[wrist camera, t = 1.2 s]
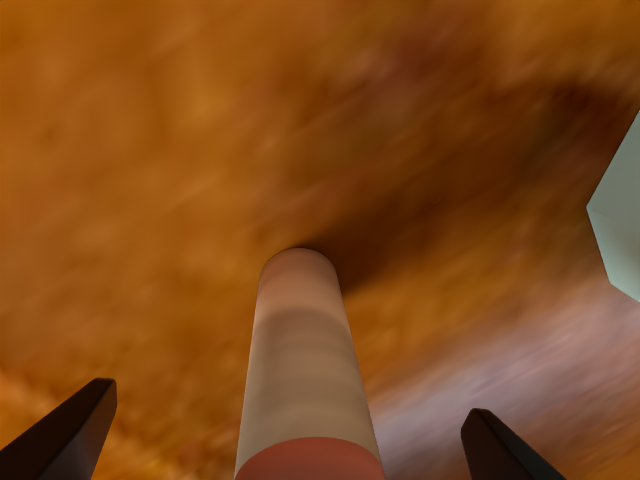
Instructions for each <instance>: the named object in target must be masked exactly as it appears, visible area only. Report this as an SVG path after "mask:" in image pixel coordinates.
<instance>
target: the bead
mask: <svg viewBox="0 0 640 480" xmlns="http://www.w3.org/2000/svg"><path fill="white" fill-rule="evenodd" d="M586 209H587V212H588V215H589V218H590V221H591V224H592V227H593V231H594V234H595V237H596V240H597V243H598V246H599V250H600V253H601V256H602V259H603V262H604V265H605V268H606V272H607V275H608V278H609V281H610V283H611V284H612V285H614V286H615V287H617V288H618V289H620V290H621V291H623V292H624V293H626V294H627V295H629V296H630V297H632V298H633V299H635V300H636V301H637V302H639V303H640V110H639V112H638V114H637V116H636V118H635V119H634V121H633V123H632V125H631V127H630V128H629V130H628V132H627V134H626V136H625V138H624V139H623V141H622V143H621V145H620V147H619V148H618V150H617V152H616V154H615V156H614V157H613V159H612V161H611V163H610V165H609V167H608V168H607V170H606V172H605V174H604V176H603V177H602V179H601V181H600V183H599V185H598V186H597V188H596V190H595V192H594V194H593V196H592V197H591V199H590V201H589V203H588V205H587V206H586Z"/></svg>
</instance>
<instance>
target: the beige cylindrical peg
mask: <svg viewBox="0 0 640 480" xmlns="http://www.w3.org/2000/svg"><path fill="white" fill-rule="evenodd" d="M234 480H385V476H384V472H383V468H382V463H381V459H380V455H379V451H378V446H377V442H376V438H375V434H374V430H373V425H372V421H371V417H370V413H369V408H368V404H367V400H366V396H365V392H364V387H363V383H362V379H361V375H360V370H359V366H358V362H357V358H356V354H355V349H354V345H353V341H352V337H351V332H350V328H349V324H348V320H347V316H346V311H345V307H344V303H343V299H342V294H341V290H340V286H339V282H338V277H337V273H336V270H335V268H334V266H333V264H332V263H331V262H330V261H329V259H328V258H326V257H325V256H324V255H322V254H321V253H319V252H317V251H314V250H311V249H306V248H293V249H288V250H284V251H282V252H280V253H278V254H276V255H275V256H273V257H272V258H271V259H270V260H269V261H268V262H267V263H266V264H265V266H264V267H263V269H262V271H261V274H260V279H259V287H258V295H257V303H256V311H255V318H254V326H253V334H252V342H251V350H250V357H249V365H248V373H247V381H246V389H245V396H244V404H243V412H242V420H241V428H240V435H239V443H238V451H237V459H236V467H235V474H234Z"/></svg>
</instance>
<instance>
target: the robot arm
mask: <svg viewBox="0 0 640 480" xmlns="http://www.w3.org/2000/svg"><path fill="white" fill-rule="evenodd" d="M116 408H117V389H116V381H115V380H114V379H110V378H95V379H93V380H92V381H90V382H89V383H88V384H87V385H85V386H84V387H83V388H81V389H80V390H79V391H77V392H76V393H75V394H73V395H72V396H71V397H70V398H68V399H67V400H66V401H64V402H63V403H62V404H60V405H59V406H58V407H56V408H55V409H54V410H53V411H51V412H50V413H49V414H47V415H46V416H45V417H43V418H42V419H41V420H39V421H38V422H37V423H36V424H34V425H33V426H32V427H30V428H29V429H28V430H26V431H25V432H24V433H22V434H21V435H20V436H19V437H17V438H16V439H15V440H13V441H12V442H11V443H9V444H8V445H7V446H5V447H4V448H3V449H2V450H0V480H90V479H91V477H92V474H93V471H94V469H95V466H96V463H97V461H98V458H99V455H100V453H101V450H102V447H103V445H104V442H105V439H106V437H107V434H108V431H109V429H110V426H111V423H112V421H113V418H114V415H115V412H116ZM461 440H462V444H463V448H464V451H465V455H466V459H467V463H468V467H469V471H470V475H471V479H472V480H567V479H566V478H565V477H564V476H563V475H562V474H560V473H559V472H558V471H557V470H556V469H555V468H554V467H553V466H551V465H550V464H549V463H548V462H547V461H546V460H545V459H544V458H542V457H541V456H540V455H539V454H538V453H537V452H536V451H535V450H533V449H532V448H531V447H530V446H529V445H528V444H527V443H526V442H524V441H523V440H522V439H521V438H520V437H519V436H518V435H517V434H515V433H514V432H513V431H512V430H511V429H510V428H509V427H508V426H506V425H505V424H504V423H503V422H502V421H501V420H500V419H499V418H497V417H496V416H495V415H494V414H493V413H492V412H491V411H489V410H487V409H480V408H473V409H472V410H471V411H470V412H469V414H468V416H467V418H466V420H465V422H464V424H463V425H462V427H461Z"/></svg>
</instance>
